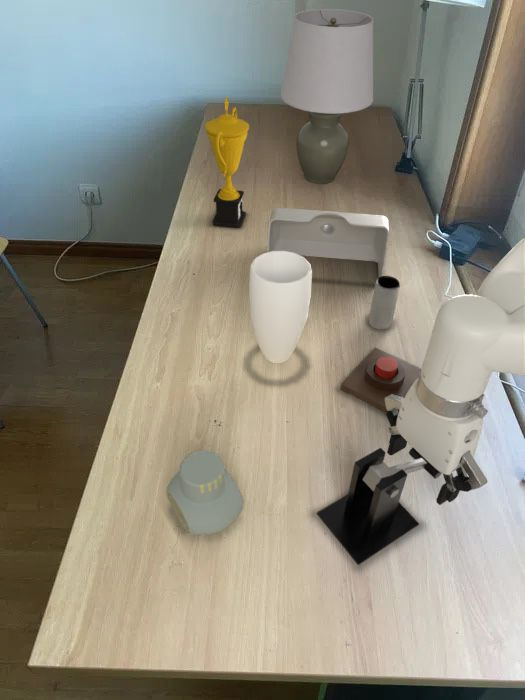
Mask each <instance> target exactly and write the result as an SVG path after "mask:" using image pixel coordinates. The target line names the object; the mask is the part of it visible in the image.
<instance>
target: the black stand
mask: <svg viewBox="0 0 525 700" xmlns="http://www.w3.org/2000/svg"><path fill="white" fill-rule="evenodd" d="M385 457H386V451H385V450H384V449H383V448H382V447H379V448H378V449H376V450H374V451H372V452H370V453H369V454H367V455H365V456H363V457H362V458H359V459H358V460H356V461H355V462H354V464H353V469H352V475H351V480H350V483H349V489H348V493H347V494H346V495H345V496H343V497H341V498H339V499H338V500H335V501H334V502H333V503H331V504H330V505H328V506H326V507H324V508H323V509H321V510H319V511H318V512H316V515H317V516H318V517H319V519H320V520H321V521H322V522H323V524H324V525H325V526H326V527H327V529H328V530H329V531H330V533H331V534H332V535H333V536H334V537H335V539H336V540H337V541H338V543H340V545H341V546H342V547H343V549H344V550H345V551H346V552H347V554H348V555H349V556H350V557H351V558H352V560H353V561H354V562H355V563H356V565H357V566H360V565H361V564H362V563H364V562H366V561H367V560H368V559H370V558H372V557H373V556H375V555H376V554H378V553H379V552H381V551H382V550H383V549H385V548H387V547H388V546H389V545H391V544H393V543H394V542H396V541H397V540H399V539H400V538H402V537H404V535H406V534H408V533H409V532H410V531H412V530H413V529H415V528H416V527H418V526H419V525H420V523H419V522H418V521H417V520H416V519H415V518H414V517H413V516H412V515H411V513H410V512H409V511H408V510H407V509H406V508H405V507H404V506H403V505H402V504H401V503H400V499H401V496H402V493H403V491H404V488H405V484H406V481H407V478H408V474H407V473H406V472H405V471H404V470H403V469H402V470H400V471H398V472H397V473H395V474H393V475H392V476H390V477H388V478H387V479H385V480H383V481H382V482H380V483H378V484H377V485H376V487H375V490H374V491H372V489H371V488H370V487H369V486H368V485H367V484H366V483H365V482H364V481H363V478H364V476H365V474H366V472H367V471H368V469H369V467H370V466H373V465H376V464H380V463H383V462H384V461H385Z"/></svg>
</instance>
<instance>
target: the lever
mask: <svg viewBox="0 0 525 700" xmlns="http://www.w3.org/2000/svg"><path fill="white" fill-rule="evenodd" d="M408 454H409V456H410V457H411V458H412V459H413V460H409V461H406V462H403V463H400V464H396V465H394V466H393V465H392V466H388V465H387V464H386V463H385V462H384V461H383V463H380V464H376V465H373V466H370V467H369V469H368V471H367V472H366V474H365V476H364V478H363V481H364V482H365V483H366V484H367V485H368V486H369V487H370V488H371V489H372V491H374V490H375V487H376V485H377V484H378V483H380V482H382V481H383V480H385V479H387V478H388V477H390V476H392V475H393V474H395V473H397V472H398V471H400V470H402V469H403V470H404V471H405V472H406V473H407V475H408V474H411V473H415V472H417V471H420V470H425V471H426V472H427V473H428V474H429V475H430V477H432V478H433V479H438V478H439V477H440V476H442V473H441V472H440V471H438V470H437V469H436V468H435V467H433V466H432V465H431V464H430V463H429V462H428V461H427V460H426V459H425V458H424V457H423V456H422V455H421V454H420V453H418V452H417V451H416V450H415V449H414V448H413V447H411V448H410V449H409V451H408Z"/></svg>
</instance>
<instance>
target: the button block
mask: <svg viewBox="0 0 525 700" xmlns="http://www.w3.org/2000/svg"><path fill="white" fill-rule="evenodd" d="M381 357H390V358H392V359H394V360H395V361H396V362H397V364H398V368H397V372H396V375H395V376H394V377H392V378H389V379H387V378H382V377H380V376H378V375H377V374H376V372H375V367H376V362H377V360H378V359H379V358H381ZM421 369H422V367H421V368H420V367H418V366H416V365H414V364H412V363H410V362H408V361H405V360H403V359H401V358H399V357H397V356H395V355H393V354H390V353H388V352H386V351H385V350H382V349H380V348H378V347H374V348H373V349H372V350H371V351H370V352H369V354H368V355H367V356H366V357H365V358H364V359H363V360H362V361H361V362H360V363H359V364H358V366H357V367H355V369H353V371H352V372H351V373H350V374H349V375H348V377H346V379H345V380H344V381H343V382H342V383H341V384H340V385H341V386H340V391H342V392H344V393H346V394H348V395H351V396H352V397H355V398H357V399H359V400H361V401H363V402H365V403H367V404H369V405H370V406H372V407H374V408H376V409H378V410H380V411H381V412H384V413H386V412H387V409H386V405H385V398H386V397H387V396H389V395H391V394H393V395H396V396H399V397H402V398H405V396H406V394H407V392H408V391H409V389H410V388H411V386H412V385H413V383H414V382H415V380H416V379H417V378H419V376H420V372H421Z"/></svg>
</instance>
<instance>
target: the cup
mask: <svg viewBox="0 0 525 700" xmlns="http://www.w3.org/2000/svg"><path fill="white" fill-rule="evenodd" d="M312 277H313V269H312V265H311V263H310V262H309V261H308V260H307V259H306V258H305V256H302V255H298V254H296V253H293V252H288V251H271V252H267V251H266V252H263V253H261V254H260V255H257V257H255V258H254V259H253V261H252V262H251V264H250V266H249V280H248V281H249V284H248V285H249V286H248V295H249V313H250V314H249V315H250V321H251V326H252V330H253V333H254V337H255V340H256V343H257V345H258V347H259V350H260V352H261V353H262V355H263V357H264V359H266V361H268V362H269V363H273V364H282V363H285V362H287V361H288V360H289V359H290V357H292V355H293V353H294V352H295V350H296V348H297V346H298V344H299V342H300V340H301V337H302V335H303V333H304V329H305V326H306V323H307V321H308V317H309V311H310V305H311V297H312V280H313V279H312Z"/></svg>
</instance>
